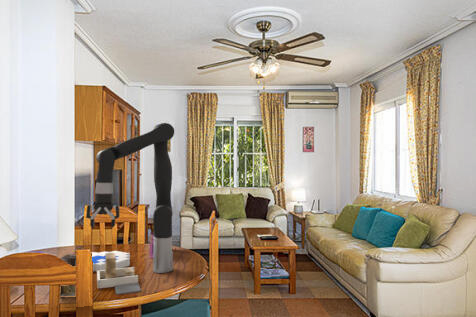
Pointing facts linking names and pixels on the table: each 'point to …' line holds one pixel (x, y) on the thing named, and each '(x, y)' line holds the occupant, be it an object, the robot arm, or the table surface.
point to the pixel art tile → (99, 260)
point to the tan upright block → (110, 265)
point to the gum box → (151, 245)
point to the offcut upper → (128, 272)
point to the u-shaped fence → (115, 279)
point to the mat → (127, 288)
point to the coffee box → (68, 289)
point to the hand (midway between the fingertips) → (102, 227)
